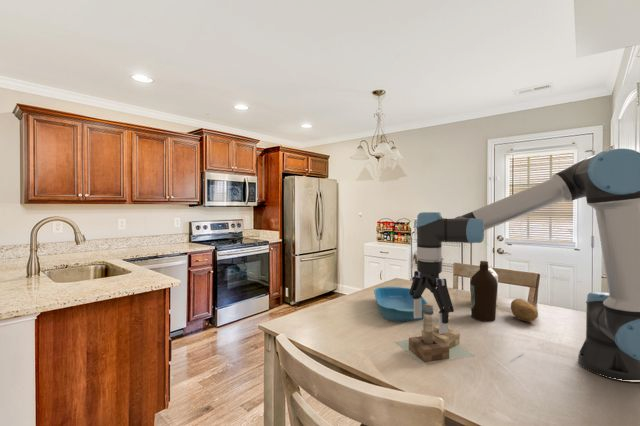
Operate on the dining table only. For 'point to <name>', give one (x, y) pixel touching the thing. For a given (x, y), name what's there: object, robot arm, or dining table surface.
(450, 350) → the pale green flat mat
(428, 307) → the banded wooden cylinder
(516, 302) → the potato
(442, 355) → the brown square wooden frame
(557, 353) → the dining table surface
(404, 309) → the casserole dish
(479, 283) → the olive oil
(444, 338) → the light wooden square frame
